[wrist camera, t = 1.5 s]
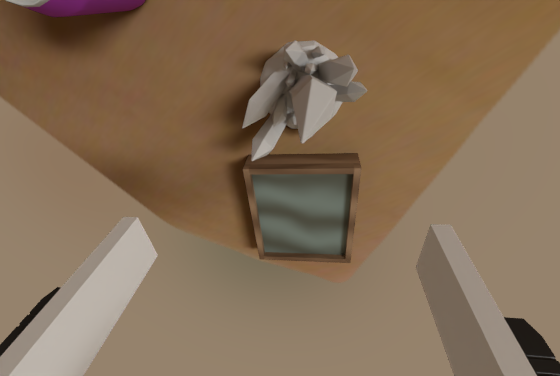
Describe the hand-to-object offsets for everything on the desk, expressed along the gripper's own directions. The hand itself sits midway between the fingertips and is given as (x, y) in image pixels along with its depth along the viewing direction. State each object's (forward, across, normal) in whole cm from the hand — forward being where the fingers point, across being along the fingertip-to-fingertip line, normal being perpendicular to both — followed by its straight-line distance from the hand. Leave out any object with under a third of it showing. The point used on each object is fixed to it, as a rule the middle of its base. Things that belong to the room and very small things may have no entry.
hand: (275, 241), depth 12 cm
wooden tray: (+23, 0, -17) cm, 29 cm away
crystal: (+23, 0, 0) cm, 23 cm away
